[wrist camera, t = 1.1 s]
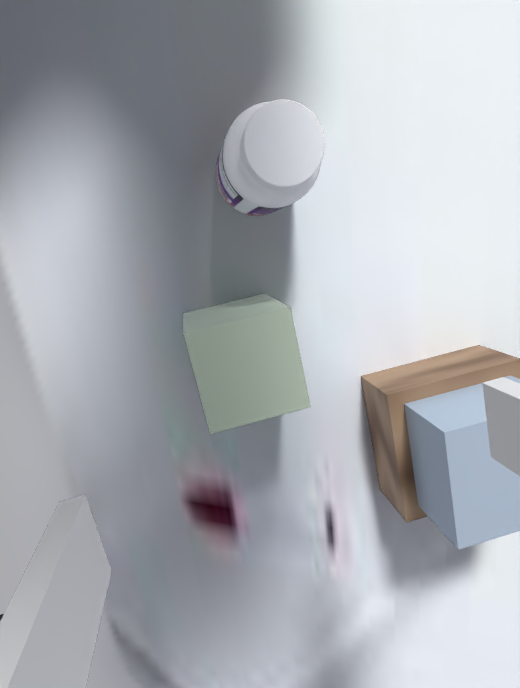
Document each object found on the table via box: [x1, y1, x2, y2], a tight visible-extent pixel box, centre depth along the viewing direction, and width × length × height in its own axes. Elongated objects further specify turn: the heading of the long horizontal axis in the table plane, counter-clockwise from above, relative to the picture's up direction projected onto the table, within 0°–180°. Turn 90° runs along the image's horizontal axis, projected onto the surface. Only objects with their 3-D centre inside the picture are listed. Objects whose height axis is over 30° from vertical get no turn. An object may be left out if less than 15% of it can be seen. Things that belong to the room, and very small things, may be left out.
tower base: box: [361, 345, 520, 522], centre depth 35 cm, size 10×10×5 cm
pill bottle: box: [216, 99, 325, 216], centre depth 27 cm, size 5×5×10 cm
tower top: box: [404, 375, 520, 550], centre depth 30 cm, size 8×8×5 cm
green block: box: [183, 293, 311, 434], centre depth 30 cm, size 6×6×8 cm
